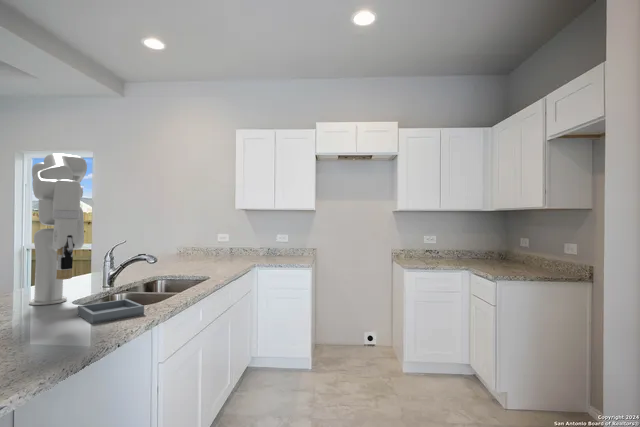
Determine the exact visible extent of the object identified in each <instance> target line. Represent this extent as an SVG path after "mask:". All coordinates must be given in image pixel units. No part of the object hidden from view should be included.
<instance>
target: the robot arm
mask: <svg viewBox="0 0 640 427" xmlns="http://www.w3.org/2000/svg"><path fill="white" fill-rule="evenodd" d="M87 171H88V164H87V161H86V160H85V159H84V157H82V156H79V155H72V154H66V153H50V154H48V155H46V156H45V157H44V159H43V162H37V163H35V164H33V165H32V168H31V176H32V177H31V178H32V191H33V195H34V197H35V198H36V199H37V200H38V221H39V223H40V224H41V225H44V226H49V227H50V228H49V227H48V228H42V229H39V230H37V231H36V232H34V234H33V243H34V251H35V268H34V269H35V273H34V295H33V297H34V298H33V299H30V300H29V305H31V306H48V305H54V304H60V303H64V302H66V301H67V300H68V297H66V296H63V290H64V280H60V279H56V276H57V252H58V249H61V247H62V258H61V269H72V270H73V263H74V262H73V261H74V260H73V258H74V253H73V252H74V251H75V250H80V249H82V248H83V246H84V242H85V224H84V223H85V221H84V220H85V219H84V218H85V217H84V210H83V208H82V207H81V198H83V194H84V191H83V190H84V189H83V186H82V185H81V182H82V181H83V179H84V177H85V175H86V174H87ZM51 226H52V228H51ZM72 242H73V243H72ZM66 246H68V248H64V247H66ZM65 250H66V251H65Z"/></svg>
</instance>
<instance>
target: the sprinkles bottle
mask: <svg viewBox="0 0 640 427" xmlns="http://www.w3.org/2000/svg"><path fill="white" fill-rule="evenodd" d="M72 243H73V242H72ZM64 248H68V246H66V247H64ZM65 251H66V250H65ZM56 252H57V276H56V279H60V280H63V281H64V280H70V279H72V278H73V276H72V275H73V273H72V272H73V268H72V269H61V258H62V247H61V249H58V251H56Z"/></svg>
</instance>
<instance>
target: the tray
mask: <svg viewBox="0 0 640 427" xmlns="http://www.w3.org/2000/svg"><path fill="white" fill-rule="evenodd" d="M77 315H78V316H79V317H81V318H82V319H84V320H86V321H87V322H89V323H90V324H100V323H104V322H111V321H115V319H116V320H120V319H126V318H131V317H137V316H142V315H145V305H143V304H141V303H138V302H136V301H133V300H131V299H128V298H123V299H116V300H110V301H103V302H97V303H90V304H82V305H77ZM110 320H111V321H110Z"/></svg>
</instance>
